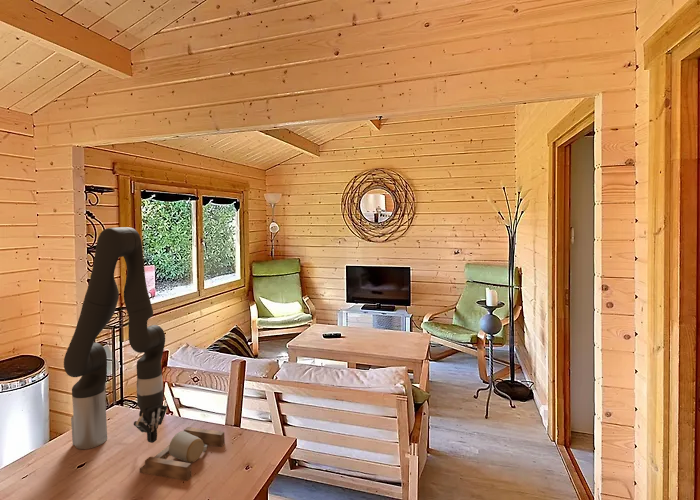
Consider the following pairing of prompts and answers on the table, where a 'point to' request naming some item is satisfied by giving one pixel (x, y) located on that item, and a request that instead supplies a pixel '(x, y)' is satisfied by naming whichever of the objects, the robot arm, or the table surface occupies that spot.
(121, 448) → the table surface
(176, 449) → the ceramic mug
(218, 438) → the cradle
